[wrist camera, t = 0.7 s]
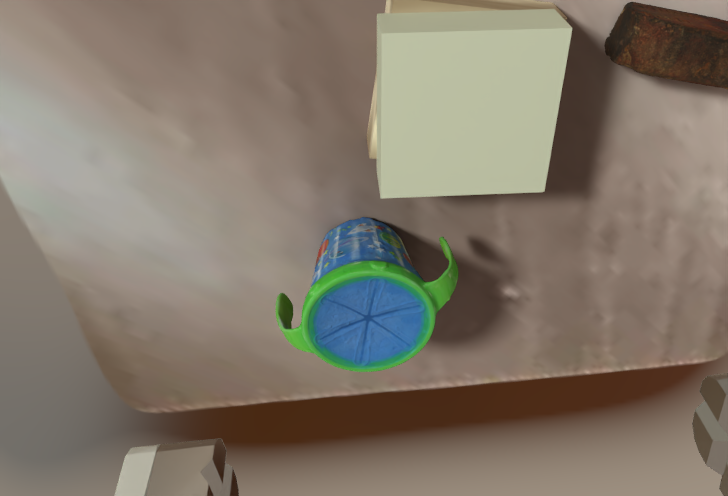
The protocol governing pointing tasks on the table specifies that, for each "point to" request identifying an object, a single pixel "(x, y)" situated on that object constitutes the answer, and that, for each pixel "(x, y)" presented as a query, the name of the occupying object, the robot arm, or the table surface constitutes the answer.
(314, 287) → the snack cup
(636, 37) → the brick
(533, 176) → the upper slab
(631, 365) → the table surface
